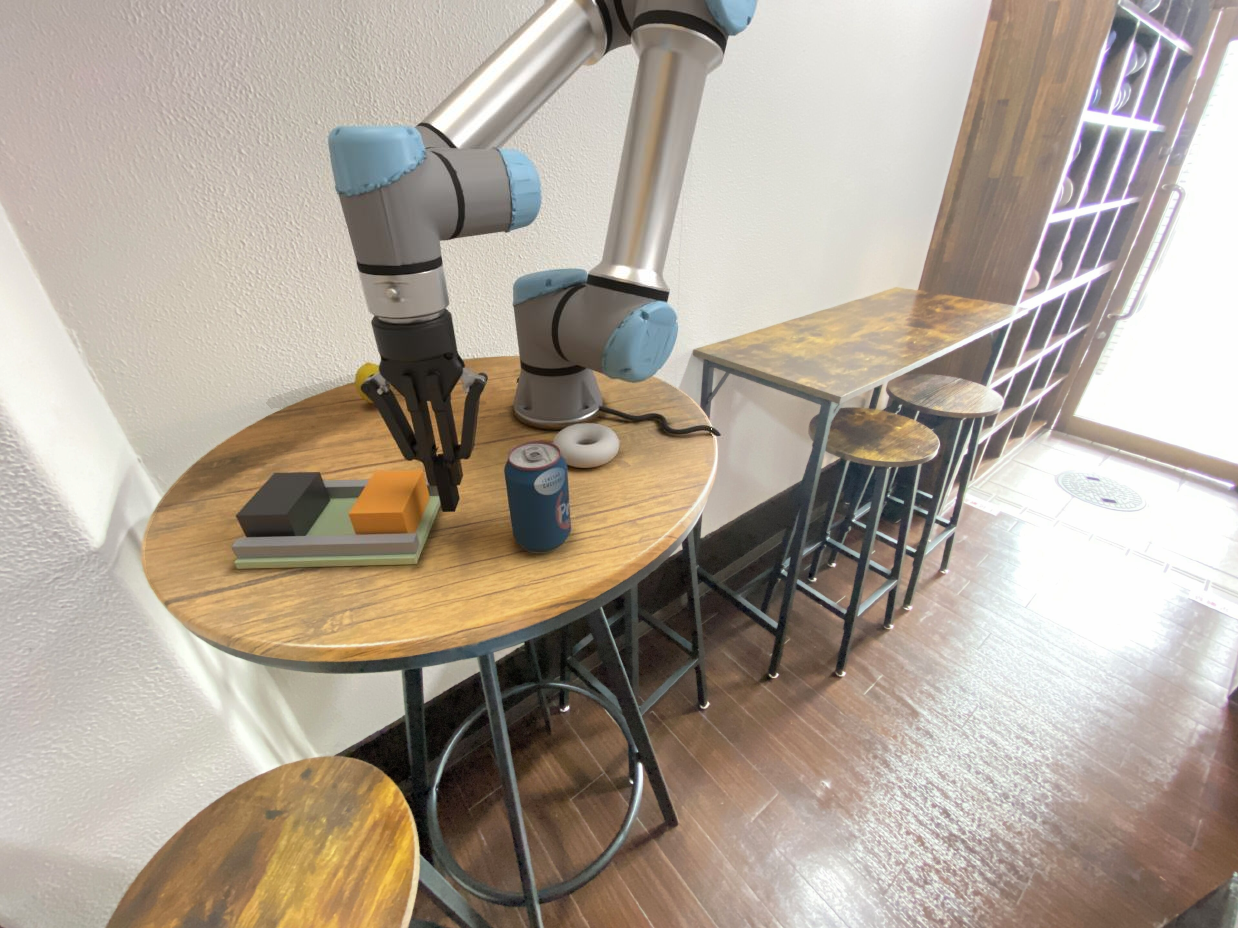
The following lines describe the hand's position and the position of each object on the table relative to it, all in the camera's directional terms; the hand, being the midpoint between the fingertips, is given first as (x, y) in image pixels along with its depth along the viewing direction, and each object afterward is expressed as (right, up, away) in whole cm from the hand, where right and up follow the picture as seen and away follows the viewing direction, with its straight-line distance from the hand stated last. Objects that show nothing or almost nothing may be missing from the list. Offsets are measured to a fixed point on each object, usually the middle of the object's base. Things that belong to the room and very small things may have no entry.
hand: (451, 505), depth 65 cm
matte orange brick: (-7, -2, +1) cm, 7 cm away
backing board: (-13, -3, +1) cm, 13 cm away
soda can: (+11, -4, 0) cm, 12 cm away
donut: (+16, +6, +16) cm, 23 cm away
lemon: (-22, +15, +30) cm, 40 cm away
